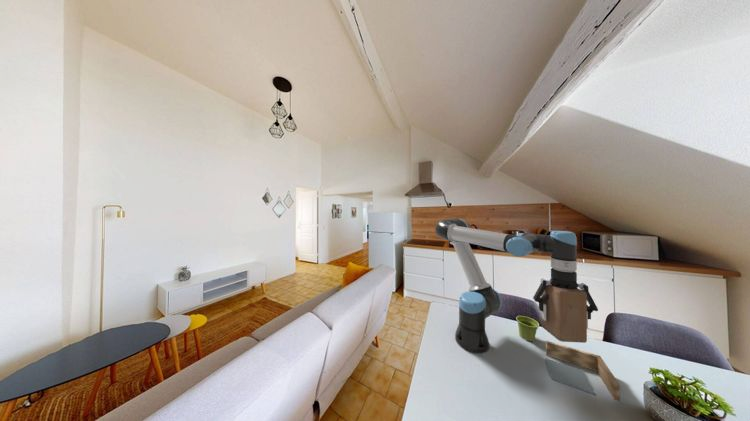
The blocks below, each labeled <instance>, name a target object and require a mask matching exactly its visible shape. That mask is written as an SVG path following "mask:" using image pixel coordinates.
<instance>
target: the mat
mask: <svg viewBox="0 0 750 421" xmlns="http://www.w3.org/2000/svg"><path fill="white" fill-rule="evenodd" d="M544 359H545V363H546V366H547V369H548V373H549V377H550V380H553V381H556V382H558V383H560V384H561V383H562V384H564V385H567V386H570V387H572V388H575V389H578V390H581V391H584V392H586V393H588V394H593V395H594V396H596V393H595V391H594V388H593V386H592V385H591V383H590V381H589V379H588V377H587V375H586V374H585V371H584V369H581V368H578V367H574V366H571V365H569V364H566V363H562V362H559V361H557V360H553V359H549V358H547V357H545V358H544Z"/></svg>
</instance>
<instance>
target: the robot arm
mask: <svg viewBox="0 0 750 421" xmlns="http://www.w3.org/2000/svg"><path fill="white" fill-rule="evenodd" d="M434 233H435V234H436V236H437V237H438V238H440V239H442V240H445V241H448V243H449V244H450V245H452V246H453V248H454V250H455V253H456V254H457V257H458V260H459V262H460V264H461V267H462V270H463V272H464V274H465V276H466V279H467V281H468V284H469V288H468V291H464V292H463V293H461V294H460V296H459V302H458V306H459V307H458V309H459V311H458V321H459V322H458V326H457V327H456V330H455V332H454V333H455V334H454V336H455V338H454V340H455V342H456V343H457V344H458V345H459V346H460V347H461V348H462V349H464V350H465V351H468V352H471V353H473V354H484V353H485V354H486V353H487V352H488V351H489V350H490V341H489V338H488V335H487V332H486V320H487V318H489V317H490V316H491V315H493V314H495V313H496V312H498V311H499V310H500V308H502V304H503V302H502V301H503V300H502V298H501V295H500V294H499V292H498V291H497V290H495V289H494V288H493V287H492V285H491V284H490V283H488V282H487V281H486V279H485V277H484V274H483V271H482V270H481V267H480V266H479V262H478V260H477V259H476V256H475V254H474V252H473V250H472V247H471V245H477V246H480V247H485V248H490V249H493V250H498V251H502V252H507V253H509V254H511V256H513V257H526V256H528V255H530V254H532V253H534V252H539V253H546V254H550V267H551V268H550V279H545V278H541V279H540V284H539V286H538V288H537V290H536V291H535V293H534V296H532V298H533V300H534V301H535V303H538V309H539V311H540V312H541V319H542V318H543V320H545V321H546V304H545V302H546V301H547V300H548V299H549V294H544V295H543V296H542V297H541V295H542V294H543V292H544V290H545V288H546V286H547V285H548V284H551V285H552V286H555V287H558V288H568V289H577V288H578V289H580V290H582V291H585V292H586V294H587V303H588V304H587V330H588V328H589V322H588V321H589V320H591V319H592V313H593V312H598V311H599V308H598V307H597V305H596V303H595V300H594V299H593V297H592V295H591V294H590V291H589V286H588V285H587V284H585V283H584V282H581V283H578V282H577V280H578V277H577V276H578V273H577V265H578V264H577V261H578V260H577V257H578V256H577V254H578V251H577V249H578V242H577V236H576V235H577V234H576V233H575V232H573V231H567V230H551V231H550V234H540V233H539V234H538V233H537V234H536V233H528V232H519V233H517V234H516V235H514V234H508V233H501V232H496V231H492V230H491V231H490V230H483V229H479V228H472V227H469V225H468V223H467V222H466V221H465V220H464V219H461V218H448V219H447V218H445V219H441V220H439V221H438V222H437V223H436V224H435V227H434ZM470 244H471V245H470Z"/></svg>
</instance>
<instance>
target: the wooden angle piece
mask: <svg viewBox="0 0 750 421" xmlns="http://www.w3.org/2000/svg"><path fill="white" fill-rule="evenodd" d="M545 355H546V356H548V357H552V358H555V359H558V360H561V361H565V362H568V363H570V364H573V365H578V366H580V367H583V368H587V369H590V370H593V371H596V373H597V374H598V375H599V377H600V378H601V380H602V382H603V384H604V386H605V388H606V389H607V390H608V392H609V394H610V396H611V397H612V399H613V400H614V401H617V402H620V393H621V392H620V391H621V390H620V388H621V384H620V383H619V382H618V380H617V379H616V377H615V376H614V374H613V373H612V371H611V369H609V367H608V366H607V364H606V362H605V361H604V359H603V358H602V357H601V355H598V354H595V353H591V352H587V351H585V350H580V349H577V348H573V347H569V346H566V345H563V344H559V343H556V342H552V341H549V340H546V341H545Z"/></svg>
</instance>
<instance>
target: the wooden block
mask: <svg viewBox="0 0 750 421" xmlns="http://www.w3.org/2000/svg"><path fill="white" fill-rule="evenodd" d="M544 294H549V299H548V300H547V301H546V302H545V304H546V321H545V320H543V318H542V317H541V327H542V328H543V329H544V330H545V331H547V332H548V333H549V334H550V335H551V336H552V337H554V338H555V339H556V340H558V341H559V342H565V343H587V341H588V338H587V337H588V329H587V305H588V304H587V303H588V301H587V294H586V292H585V291H582V290H581V289H580V288H579V287H578V288H577V289H568V288H558V287H555V286H552V285H551V284H548V285H547V286H546V288H545V290H544V292H543V294H542V295H541V297H542V296H543V295H544ZM541 297H540V298H541Z"/></svg>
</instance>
